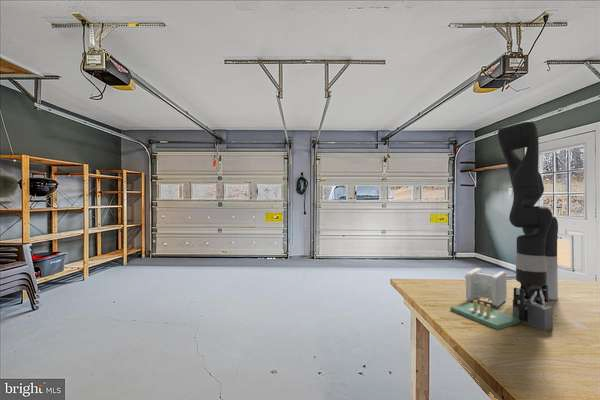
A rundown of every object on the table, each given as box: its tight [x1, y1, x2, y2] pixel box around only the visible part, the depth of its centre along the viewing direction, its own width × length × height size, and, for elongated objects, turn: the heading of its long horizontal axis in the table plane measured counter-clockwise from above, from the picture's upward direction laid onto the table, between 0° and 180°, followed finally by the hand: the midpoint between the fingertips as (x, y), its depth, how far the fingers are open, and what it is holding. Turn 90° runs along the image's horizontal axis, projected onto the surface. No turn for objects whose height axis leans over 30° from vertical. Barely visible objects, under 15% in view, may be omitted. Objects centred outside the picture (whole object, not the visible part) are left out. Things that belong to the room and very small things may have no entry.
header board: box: [450, 299, 522, 330], centre depth 93 cm, size 12×16×5 cm
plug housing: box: [512, 300, 554, 332], centre depth 87 cm, size 4×9×7 cm, turn 22°
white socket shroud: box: [464, 267, 508, 308], centre depth 107 cm, size 15×11×12 cm
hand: (531, 318), depth 87 cm, fingers open, 8 cm apart
